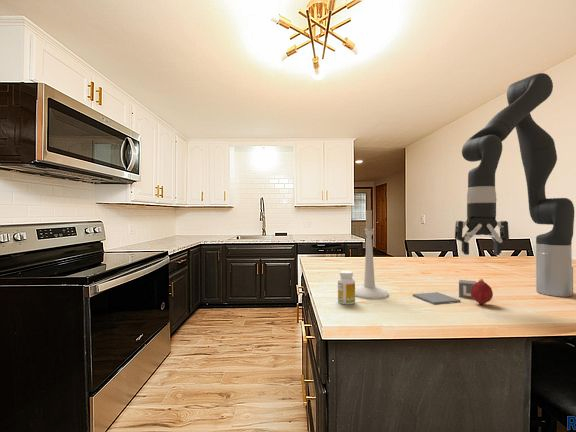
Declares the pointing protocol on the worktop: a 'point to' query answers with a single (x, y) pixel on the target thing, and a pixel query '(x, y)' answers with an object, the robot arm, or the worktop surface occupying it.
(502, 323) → the worktop surface
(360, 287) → the candlestick
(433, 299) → the mat
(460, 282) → the marked cube
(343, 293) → the supplement bottle
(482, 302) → the onion
